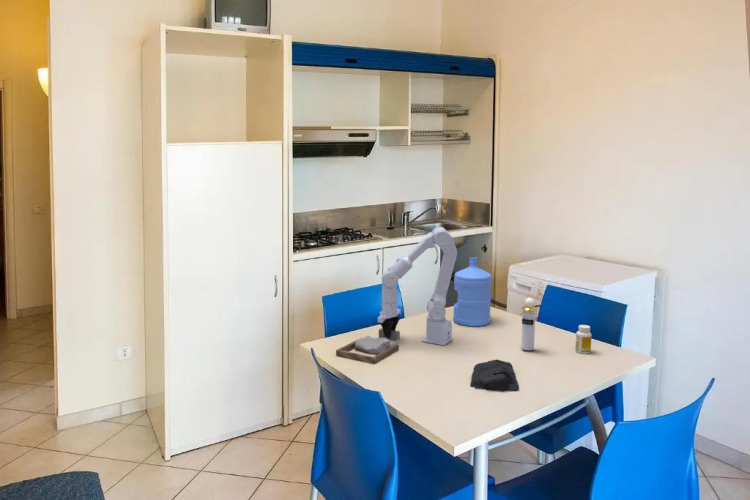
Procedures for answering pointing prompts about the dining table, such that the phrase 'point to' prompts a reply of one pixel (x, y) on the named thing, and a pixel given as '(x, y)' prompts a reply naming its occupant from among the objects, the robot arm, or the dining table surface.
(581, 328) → the supplement bottle
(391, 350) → the dock
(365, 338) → the stone block
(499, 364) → the crumpled black cloth
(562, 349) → the dining table surface
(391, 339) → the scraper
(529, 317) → the perfume bottle
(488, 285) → the water jug
